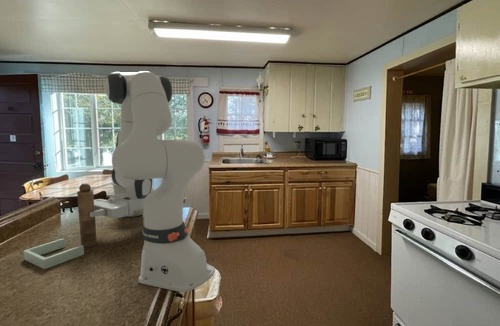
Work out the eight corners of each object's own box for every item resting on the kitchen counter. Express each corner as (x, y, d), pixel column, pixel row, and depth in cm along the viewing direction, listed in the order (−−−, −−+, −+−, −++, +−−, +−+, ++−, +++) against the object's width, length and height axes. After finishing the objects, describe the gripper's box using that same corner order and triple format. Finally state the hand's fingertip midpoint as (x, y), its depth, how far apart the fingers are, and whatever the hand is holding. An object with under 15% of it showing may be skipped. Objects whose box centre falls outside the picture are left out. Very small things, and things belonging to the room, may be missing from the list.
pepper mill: (99, 243, 105) (95, 182, 102) (86, 248, 101) (81, 185, 98) (91, 240, 107) (87, 181, 105) (78, 245, 103) (73, 183, 100)
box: (84, 254, 96) (83, 245, 96) (44, 269, 86) (43, 259, 85) (63, 246, 102) (62, 238, 102) (24, 259, 92) (23, 250, 92)
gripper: (102, 193, 118) (67, 201, 107) (135, 199, 108) (100, 208, 96) (103, 208, 119) (69, 217, 107) (136, 216, 109) (101, 226, 97)
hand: (84, 213), depth 102 cm, fingers closed on pepper mill, 5 cm apart
